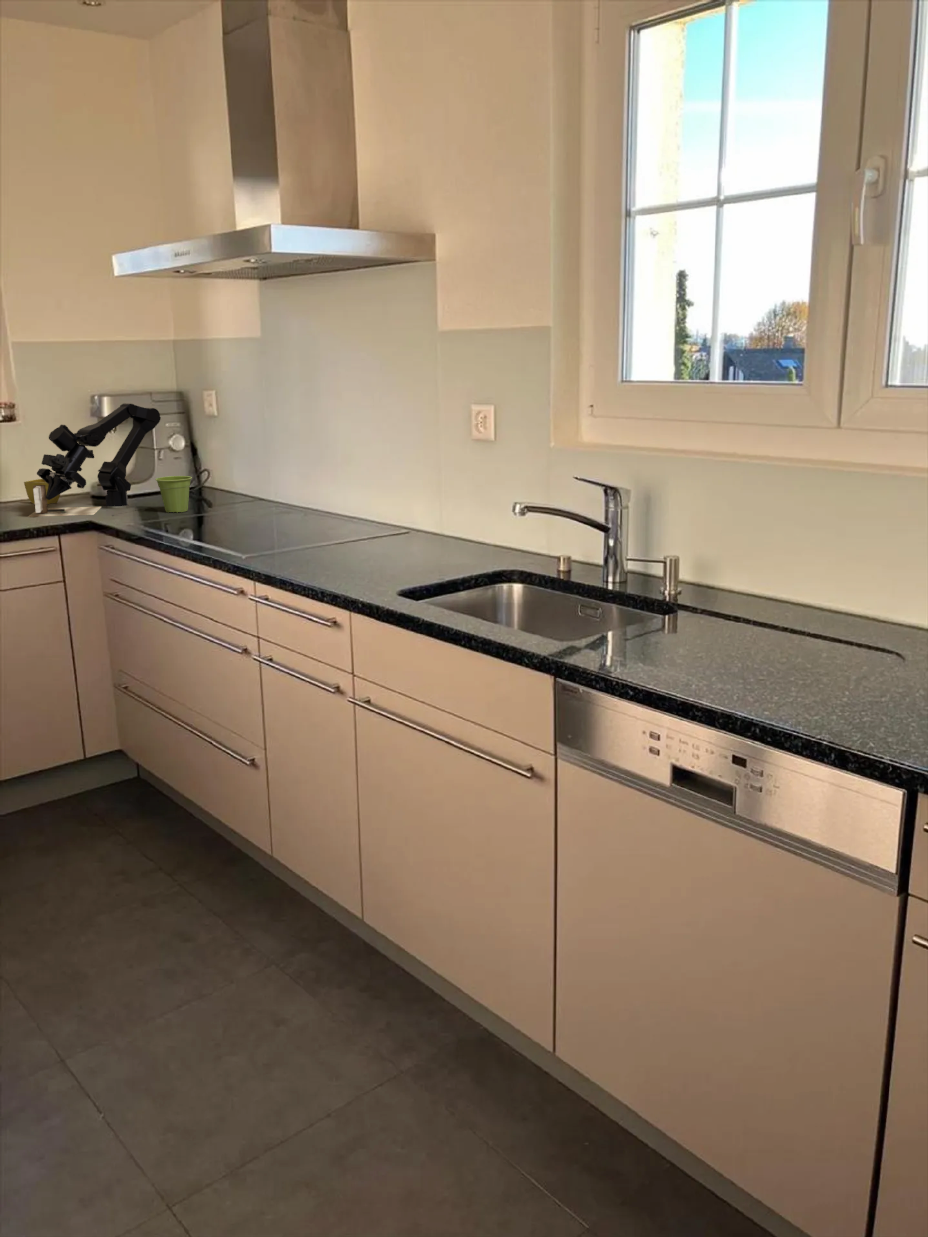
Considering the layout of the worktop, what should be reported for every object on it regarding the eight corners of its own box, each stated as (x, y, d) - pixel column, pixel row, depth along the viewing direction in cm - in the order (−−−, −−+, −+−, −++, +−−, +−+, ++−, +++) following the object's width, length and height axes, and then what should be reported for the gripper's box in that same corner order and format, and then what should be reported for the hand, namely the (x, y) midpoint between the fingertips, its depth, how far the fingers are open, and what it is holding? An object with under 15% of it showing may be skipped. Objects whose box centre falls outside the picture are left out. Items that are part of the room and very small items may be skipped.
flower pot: (25, 507, 351) (22, 481, 349) (43, 503, 359) (40, 478, 357) (47, 508, 348) (44, 482, 346) (64, 504, 356) (61, 479, 354)
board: (102, 509, 344) (101, 506, 344) (93, 518, 327) (93, 514, 327) (39, 511, 341) (39, 508, 340) (28, 520, 323) (27, 516, 323)
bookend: (37, 511, 331) (33, 485, 328) (65, 510, 333) (62, 484, 330) (32, 516, 321) (29, 489, 319) (61, 515, 323) (58, 488, 321)
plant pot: (170, 508, 347) (167, 475, 344) (201, 509, 344) (198, 476, 341) (150, 513, 336) (148, 479, 333) (182, 514, 333) (180, 480, 330)
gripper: (38, 443, 329) (11, 481, 323) (73, 445, 319) (47, 485, 313) (62, 464, 337) (36, 502, 331) (97, 468, 327) (72, 507, 321)
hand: (47, 499), depth 324 cm, fingers closed
